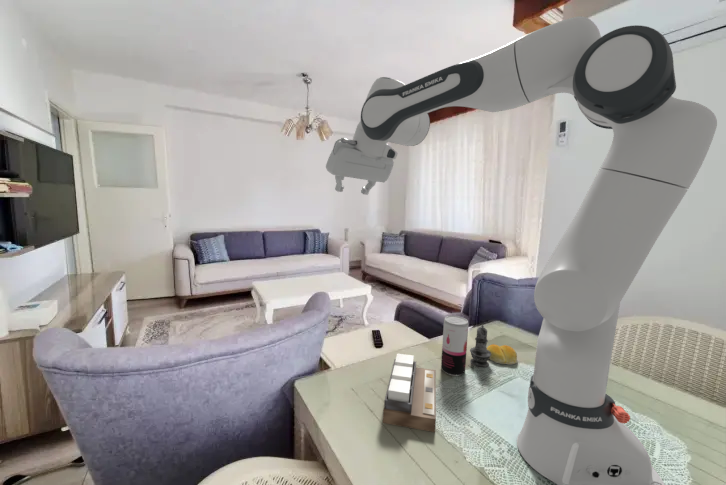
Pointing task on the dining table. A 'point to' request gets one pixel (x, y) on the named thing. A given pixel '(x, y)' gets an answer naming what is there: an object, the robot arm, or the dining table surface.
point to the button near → (399, 390)
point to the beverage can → (454, 345)
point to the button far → (404, 360)
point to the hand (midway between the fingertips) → (351, 192)
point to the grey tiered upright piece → (480, 349)
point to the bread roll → (502, 354)
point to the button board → (414, 402)
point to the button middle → (402, 373)
